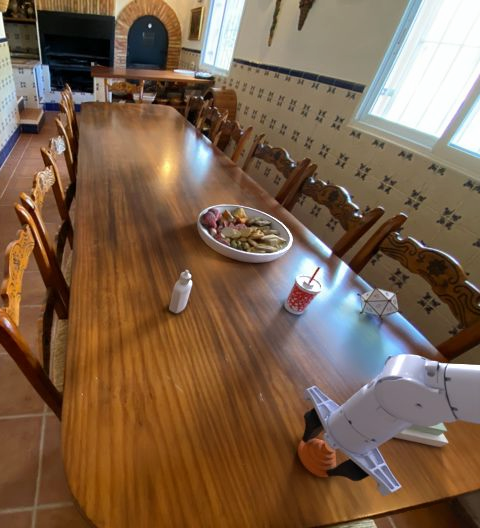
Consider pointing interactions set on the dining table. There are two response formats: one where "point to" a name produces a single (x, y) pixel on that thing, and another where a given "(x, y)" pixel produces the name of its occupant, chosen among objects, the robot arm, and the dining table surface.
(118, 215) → the dining table surface
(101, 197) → the dining table surface
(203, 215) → the bowl
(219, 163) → the dining table surface
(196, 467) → the dining table surface
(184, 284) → the eye dropper bottle
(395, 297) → the game die
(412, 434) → the base block
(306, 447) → the cone
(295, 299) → the beverage cup
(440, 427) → the top block
